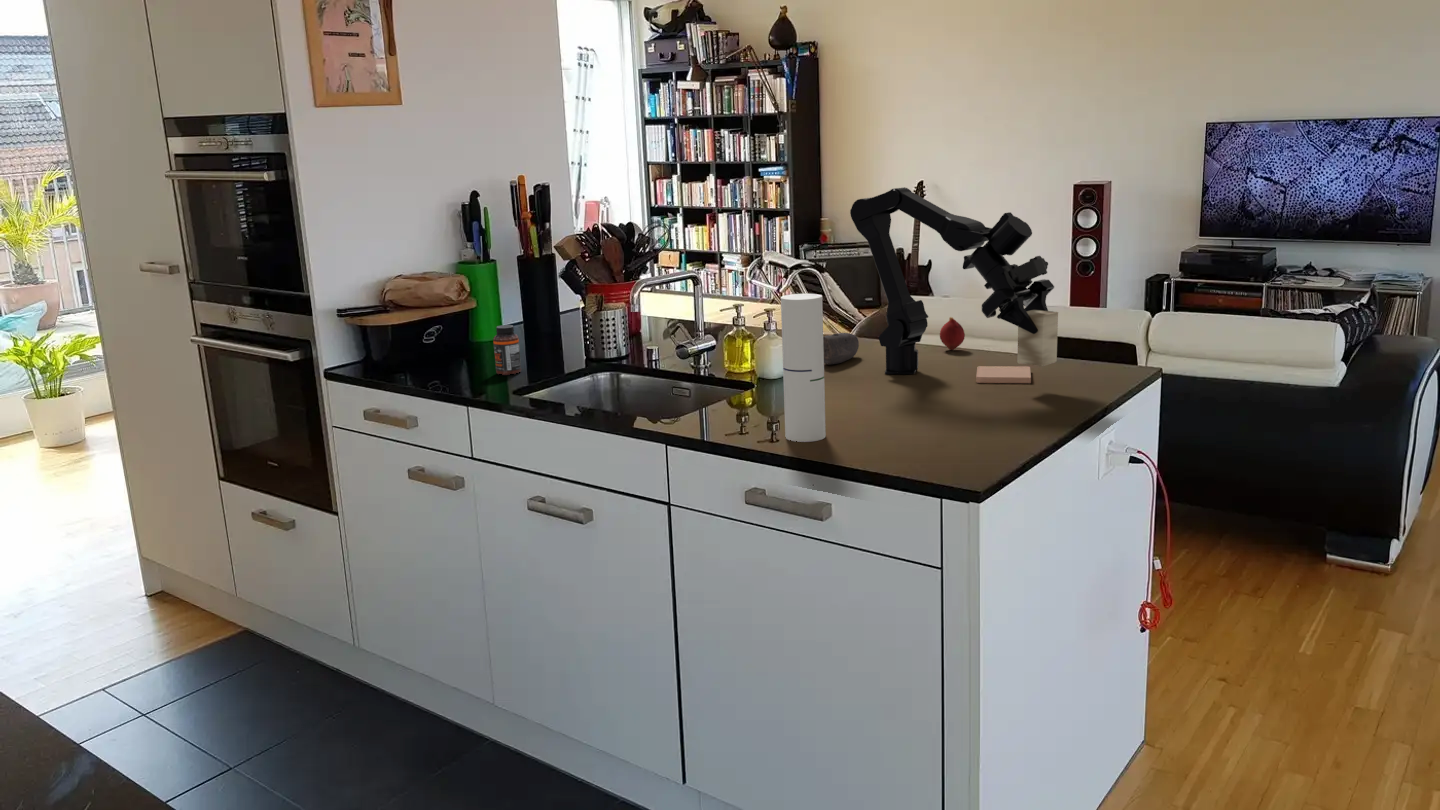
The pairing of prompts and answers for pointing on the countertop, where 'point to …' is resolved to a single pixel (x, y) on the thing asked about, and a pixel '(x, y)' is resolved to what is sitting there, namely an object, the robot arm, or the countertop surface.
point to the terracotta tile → (1003, 374)
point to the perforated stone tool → (839, 347)
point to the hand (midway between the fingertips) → (1044, 330)
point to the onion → (952, 334)
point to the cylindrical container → (803, 367)
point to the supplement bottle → (506, 351)
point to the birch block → (1039, 339)
